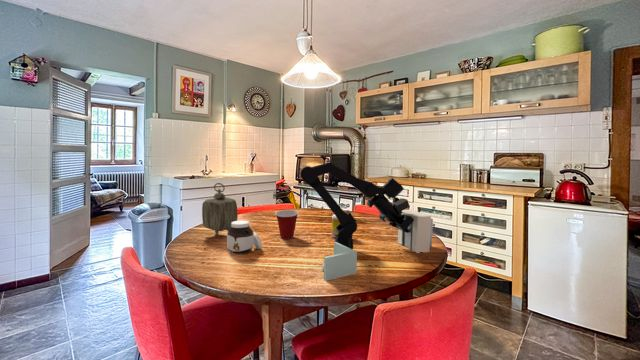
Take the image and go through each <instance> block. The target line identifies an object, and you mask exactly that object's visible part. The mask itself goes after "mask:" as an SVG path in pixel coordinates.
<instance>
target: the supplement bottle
mask: <svg viewBox="0 0 640 360" xmlns="http://www.w3.org/2000/svg"><path fill="white" fill-rule="evenodd" d="M341 209H342V210H344V211H345V209H343V208H341ZM339 224H340V223H339V221H338V219H337V217H336V215H335V214H334V213H333V214H332V216H331V237H332V238H335V235H337V232H336V229H335V228H336V227H337V226H338V225H339Z"/></svg>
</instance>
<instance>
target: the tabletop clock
mask: <svg viewBox="0 0 640 360" xmlns="http://www.w3.org/2000/svg"><path fill="white" fill-rule="evenodd" d="M218 185H220V186H222V188H223V189H222V190H221V189H220V188H218V189H216V186H218ZM213 189H214V191H216V193H215V194H214V195H213V198H209V199H208V198H207V199H205V200H204V201H203V202H202V207H201V208H202V209H201V210H202V211H201V218H202V225H203V227H204V228H206V229H209V230H212V231H214V233H215V234H214V236H213V237H214V238H215V239H217V238H218V237H219V235H218V233H219V232H223V231H227V232H228V231H229V229H230V228H231V223H232V222H234V221H238V216H239V215H238V204H237V202H236V199H233V198H231V197H226V195H225V194H224V193H223V192H224V191H225V185H224V184H223V183H222V182H216V183H215V184H214V185H213Z"/></svg>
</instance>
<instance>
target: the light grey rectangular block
mask: <svg viewBox="0 0 640 360" xmlns="http://www.w3.org/2000/svg"><path fill="white" fill-rule="evenodd" d="M433 222H434V219H433V218H431V226H430V248H432V247H433V246H432V245H433V228H434V227H433V225H434V223H433ZM408 230H409V232H408V233H406V232H405V236H404V246H405V247H406V248H408V249H410V246H411V225H410V226H409V227H408Z"/></svg>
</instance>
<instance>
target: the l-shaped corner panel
mask: <svg viewBox="0 0 640 360" xmlns="http://www.w3.org/2000/svg"><path fill="white" fill-rule="evenodd" d="M357 265H358V251H357V250H354V248H353V249H350V248H348V247H346V246H344V245H341V244H339V243H337V242H335V241H334V242H333V255H332V254H331V255H327V256H324V258H323V263H322V264H321V271H322V272H323V279H324V281H325V282H327V281H331V280H336V279H339V278H344V277H347V276H351V275H355V274H357V272H358V271H357V270H358V269H357V268H358V266H357Z"/></svg>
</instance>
